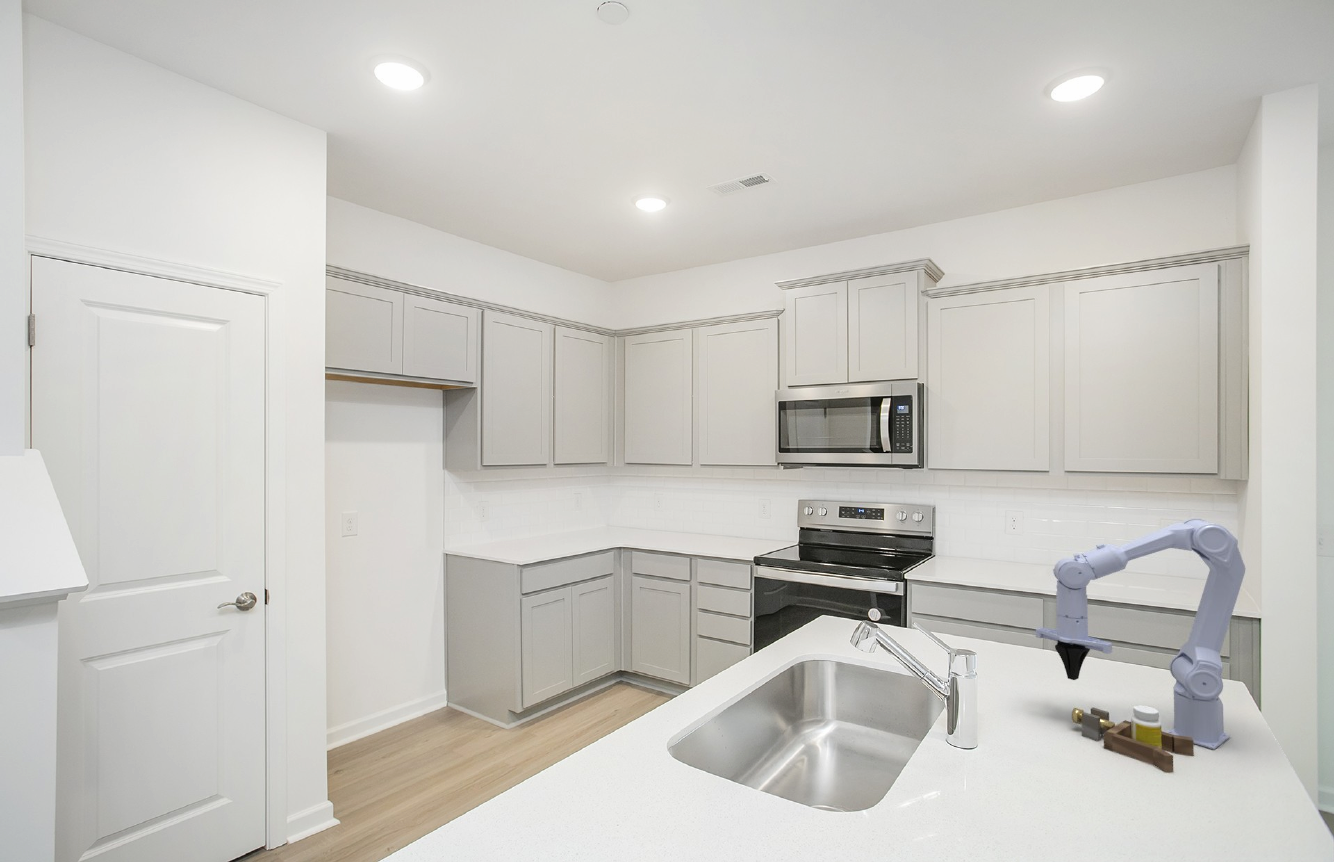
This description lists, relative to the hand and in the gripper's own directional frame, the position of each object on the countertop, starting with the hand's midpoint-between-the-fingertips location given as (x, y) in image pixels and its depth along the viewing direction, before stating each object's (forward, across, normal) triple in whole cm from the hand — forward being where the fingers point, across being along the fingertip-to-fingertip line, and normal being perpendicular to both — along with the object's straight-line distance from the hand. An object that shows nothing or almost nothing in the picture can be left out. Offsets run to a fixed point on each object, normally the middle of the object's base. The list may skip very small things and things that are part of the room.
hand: (1073, 678), depth 143 cm
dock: (+9, +12, -3) cm, 16 cm away
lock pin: (+8, +5, -3) cm, 10 cm away
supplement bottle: (+10, +15, -3) cm, 18 cm away
